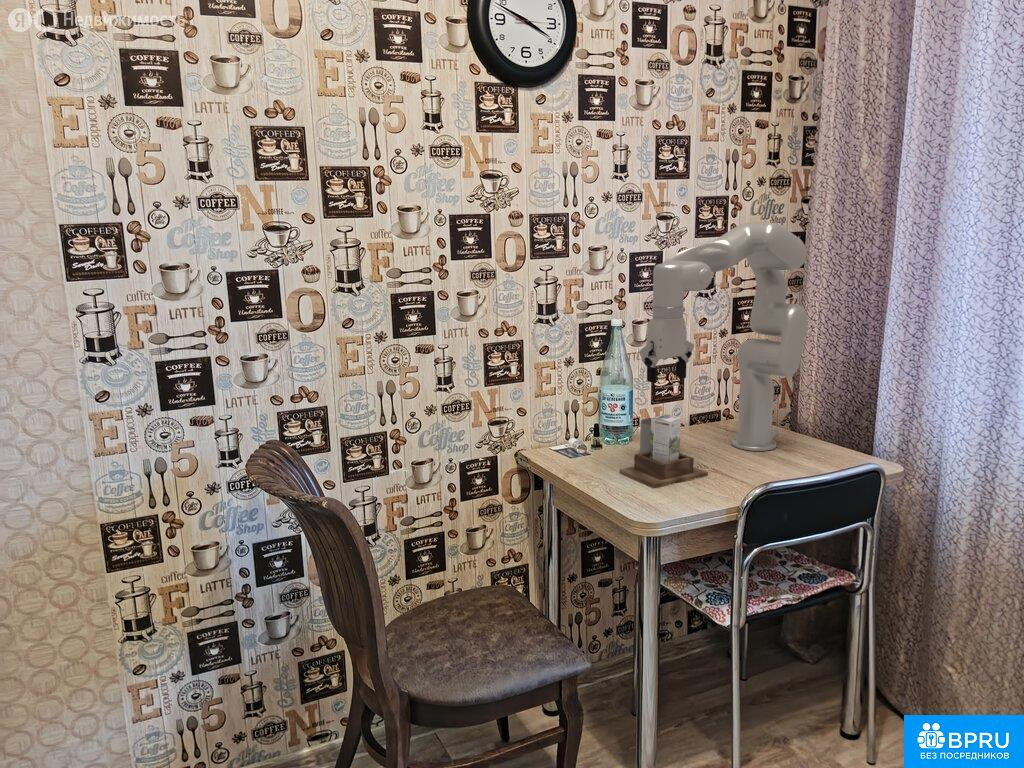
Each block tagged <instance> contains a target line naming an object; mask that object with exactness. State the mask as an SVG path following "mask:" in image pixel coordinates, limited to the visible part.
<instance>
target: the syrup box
mask: <svg viewBox="0 0 1024 768" xmlns="http://www.w3.org/2000/svg"><path fill="white" fill-rule="evenodd" d="M651 418H652V419H651V437H650V459H653V460H656V461H658V462H661V463H665V462H669V461H674V460H679V453H680V450H681V449H680V447H681V446H680V445H681V431H682V430H681V429H682V428H681V424H682V418H681V417H678V416H676V415H672V414H665V413H664V414H663V413H662V414H660V415H657V416H655V417H651Z"/></svg>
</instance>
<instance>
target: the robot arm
mask: <svg viewBox="0 0 1024 768" xmlns="http://www.w3.org/2000/svg"><path fill="white" fill-rule="evenodd" d="M807 256H808V255H807V247H806V246H805V243H804V241H803V240H802V239H800V237H798V236H796V235H795V234H794V233H792V232H791V231H790V230H788V229H787V228H785V227H784V226H783V225H780V224H778V223H776V222H744V223H742V224H739V225H737V226H735V227H733V228H732V229H730V230H729V231H727V232H725V233H724V234H722V235H721V236H718V238H716V239H714V240H712V241H707V242H705V243H702V244H699V245H696V246H693V247H690V248H687V249H684V250H682V251H679V252H677V253H675V254H673V255H672V256H670V257H669V258H667V259H666V260H664V261H663V262H662V263H658V264H655V266H654V267H653V272H652V275H653V279H652V280H653V281H652V318H650V319H649V321H648V327H647V333H646V342H645V346H643V348H640V349H639V351H638V353H639V354H638V355H640V356H639V357H640V358H641V362H643V364H644V366H645V367H646V382H649V383H652V384H656V383H657V382H658V367H656V366H657V364H658V363H659V361H660V360H667V359H673V358H674V359H675V358H676V363H675V376H676V377H677V378H682V379H686V378H687V364H688V363H689V359H690V358H691V356H692V355H693V351H694V348H695V344H694V343H693V342H691V341H689V340H688V339H687V328H686V327H687V326H686V321H685V319H686V318H685V317H684V313H685V311H686V307H684V292H701V291H703V290H705V289H707V288H708V287H709V285H711V283H712V280H713V273H716V272H722V271H727V270H729V269H731V268H733V267H735V265H737V264H738V263H740V262H742V261H743V260H744V259H746V262H747V263H748V265H749V267H750V268H751V270H752V272H753V275H754V278H755V292H754V293H755V294H754V298H753V301H752V302H753V303H752V308H751V313H750V318H749V326H750V329H751V331H752V332H754V333H755V334H758V335H763V336H769V337H770V336H771V337H779V338H780V341H777V340H771V339H763V338H749V339H746V340H744V341H743V342H742V343H741V344H740V345H739V347H738V349H737V363H738V371H739V393H738V394H739V395H738V415H737V417H738V418H737V436H735V437H733V438H732V439H731V446H733V447H735V448H737V449H740V450H746V451H751V452H752V451H753V452H754V451H755V452H766V451H771V450H774V449H776V448H777V442H776V441H775V440H774V438H775V437H778V436H781V435H782V434H783V431H782V430H781V429H780V428H778V429H773V412H774V411H773V409H774V394H775V387H774V383H773V379H772V377H771V375H772V376H777V377H779V376H780V377H791V376H793V375H794V374H796V372H797V371H798V368H799V367H800V364H801V361H802V360H801V359H802V355H803V349H804V345H805V340H806V336H807V331H808V330H807V329H808V315H807V314H808V313H807V311H806V309H804V307H803V306H802V305H799V304H796V303H786V299H787V293H788V283H787V280H786V277H785V275H784V273H783V272H782V271H785V270H786V271H793V270H797V269H799V268H801V267H802V266H803V265H804V263H805V261H806V259H807Z"/></svg>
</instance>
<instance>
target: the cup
mask: <svg viewBox="0 0 1024 768" xmlns="http://www.w3.org/2000/svg"><path fill="white" fill-rule="evenodd" d="M652 418H653V417H650V418H649V417H648V418H643V419H641V420H640V431H639V433H640V435H639V436H640V437H639V453H644V452H649V451H650V437H651V419H652Z"/></svg>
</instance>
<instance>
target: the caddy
mask: <svg viewBox="0 0 1024 768" xmlns="http://www.w3.org/2000/svg"><path fill="white" fill-rule="evenodd" d="M633 460H634V462H633V463H634V465H633V466H630V467H625V468H620V469H619V474H621V475H623V476H625V477H627V478H630V479H632V480H634V481H636V482H638V483H641V484H644V485H646V486H649V487H650V488H653V489H658V488H661V486H662V487H666V486H670V485H669V484H671V485H675V484H679V483H683V482H687V480H688V481H692V480H695V478H696V479H699V477H700V478H704V476H705V477H708V476H709V472H708V471H706V470H703V469H700V468H698V467H695V466H694V464H695V463H694V462H695V461H694V460H695V458H694V457H692V456H689V455H686V454H683V453H681V452H679V460H674V461H669V462H665V463H661V462H658V461H656V460H653V459H650V451H649V452H644V453H640V452H639V453H635V454H634V459H633ZM691 479H692V480H691ZM678 482H679V483H678ZM674 483H675V484H674ZM665 485H666V486H665ZM657 487H658V488H657Z"/></svg>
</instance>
